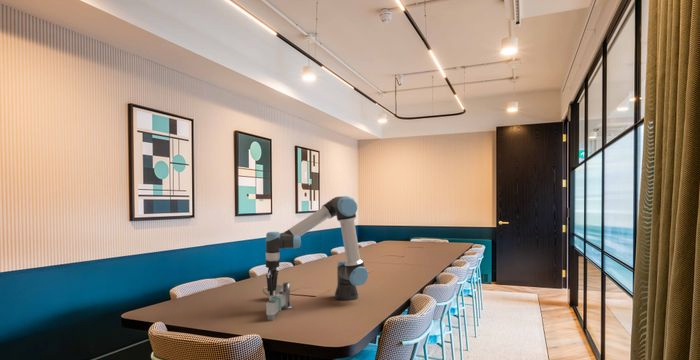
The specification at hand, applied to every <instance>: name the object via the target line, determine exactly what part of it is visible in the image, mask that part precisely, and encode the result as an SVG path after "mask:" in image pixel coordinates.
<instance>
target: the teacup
mask: <svg viewBox="0 0 700 360" xmlns="http://www.w3.org/2000/svg"><path fill="white" fill-rule="evenodd" d="M275 289H277V290H274V291H275V295H276V294H279V291H283V284H277V287H276V288H275ZM265 290H266V291H267V292H266V291H265ZM261 292H262V294H264V295H265V296H267V297H268V298H269V291H268V288H267V286H264V287H263V288H262V289H261Z"/></svg>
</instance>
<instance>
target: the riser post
mask: <svg viewBox="0 0 700 360" xmlns="http://www.w3.org/2000/svg"><path fill="white" fill-rule="evenodd" d="M290 284H291V283H290V282H288V281H287V282H286V281H285V282H282V285H283V291H288V307H287V308H281V310H291V309H293V308H294V305H293V304H290V303H291V301H290V300H291V299H290V298H291V297H290V295H291V285H290Z"/></svg>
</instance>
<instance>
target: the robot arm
mask: <svg viewBox="0 0 700 360" xmlns="http://www.w3.org/2000/svg"><path fill="white" fill-rule="evenodd" d="M357 212H358V203H357V201H356V200H355V199H354V198H353V197H351V196H348V195H344V196H336V197H333V198H331V199H329V201H327V202H325V203H324V204H322V205H321V208H320V209H318V210H317V211H315V212H313V213H312V214H310V215H309V216H307V217H305V218H304V219H302V220H301V221H299V222H297V223H296V224H295V225H293V226H291V227H290V228H289V229H287V230H286V231H285V230H284V232H279V231H268V232H266V234H265V235H266V237H265V254H264V255H265V268H268V269H267V274H266V275H265V278H266V287H267V288H268V291H269V297H268V299H269V298H270V295H275V291H274V290H277V289H275V288H276V287H277V285H278V275H279V270H277V269H278V268H279V267H280V257H281V255H280V250H283V249H298V248H301V246H302V240H301V237H303V236H304V234H306V233H308V232H310V231H312V229H314V228H316V227H317V226H318V225H320V224H322V223H323V222H325V221H327V219H329V220H330V219H332V218H334V217H336V219H337V221H338V222H339V223H340V229H341V236H342V241H343V243H342V244H343V248H344V254H345V260H343V261H338V262H337V267H336V269H337V270H336V271H337V272H336V274H337V276H336V277H337V279H336V280H337V285H336V289H335V291H334V299H337V300H341V301H352V300H356V299H359V292H358V289H357V287H359V286H363V285H364V284H366V282H367V280H369V271H368V269H367V268H366V267H365V264H364V260H362V259H361V255H360V248H359V243H358V236H357V229H356V223H355V219H357V215H356V213H357ZM268 291H267V292H268Z"/></svg>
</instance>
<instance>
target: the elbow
mask: <svg viewBox="0 0 700 360" xmlns="http://www.w3.org/2000/svg"><path fill="white" fill-rule="evenodd" d="M271 297H281V308H287V307H288V291H279V294H276V295H270V298H269V297H268V301H270V300H271Z"/></svg>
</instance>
